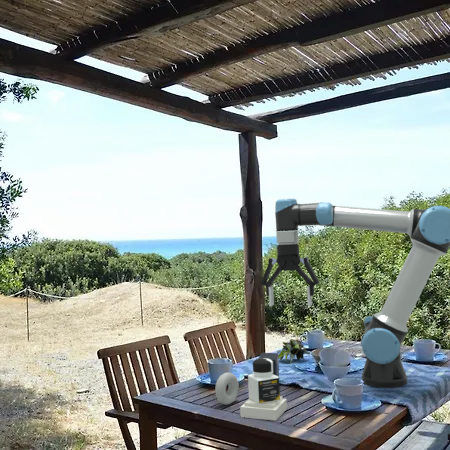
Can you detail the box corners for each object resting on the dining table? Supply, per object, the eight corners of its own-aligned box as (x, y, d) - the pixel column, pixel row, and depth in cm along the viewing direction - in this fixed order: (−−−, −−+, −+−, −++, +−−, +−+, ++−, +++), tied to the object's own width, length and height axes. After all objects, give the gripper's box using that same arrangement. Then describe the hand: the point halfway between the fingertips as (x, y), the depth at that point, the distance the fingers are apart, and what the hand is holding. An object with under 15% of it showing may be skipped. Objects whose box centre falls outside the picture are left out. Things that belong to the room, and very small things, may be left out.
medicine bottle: (259, 404, 159) (257, 363, 159) (248, 398, 166) (246, 358, 166) (280, 400, 162) (278, 360, 162) (269, 394, 168) (267, 355, 169)
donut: (233, 399, 179) (232, 368, 179) (241, 400, 176) (240, 369, 177) (213, 407, 171) (212, 375, 171) (222, 409, 169) (220, 377, 169)
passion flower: (298, 372, 229) (314, 349, 228) (290, 374, 220) (306, 350, 218) (278, 355, 234) (294, 333, 233) (269, 356, 225) (285, 333, 224)
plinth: (287, 408, 167) (286, 395, 167) (276, 420, 156) (275, 406, 157) (253, 405, 171) (252, 392, 171) (240, 417, 161) (240, 403, 161)
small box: (277, 389, 188) (275, 359, 188) (258, 389, 189) (256, 358, 189) (280, 381, 198) (278, 352, 198) (262, 381, 199) (261, 352, 200)
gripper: (326, 242, 186) (328, 304, 186) (257, 244, 196) (260, 303, 196) (320, 242, 179) (324, 307, 179) (250, 245, 189) (252, 306, 189)
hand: (290, 305), depth 187 cm, fingers open, 13 cm apart
